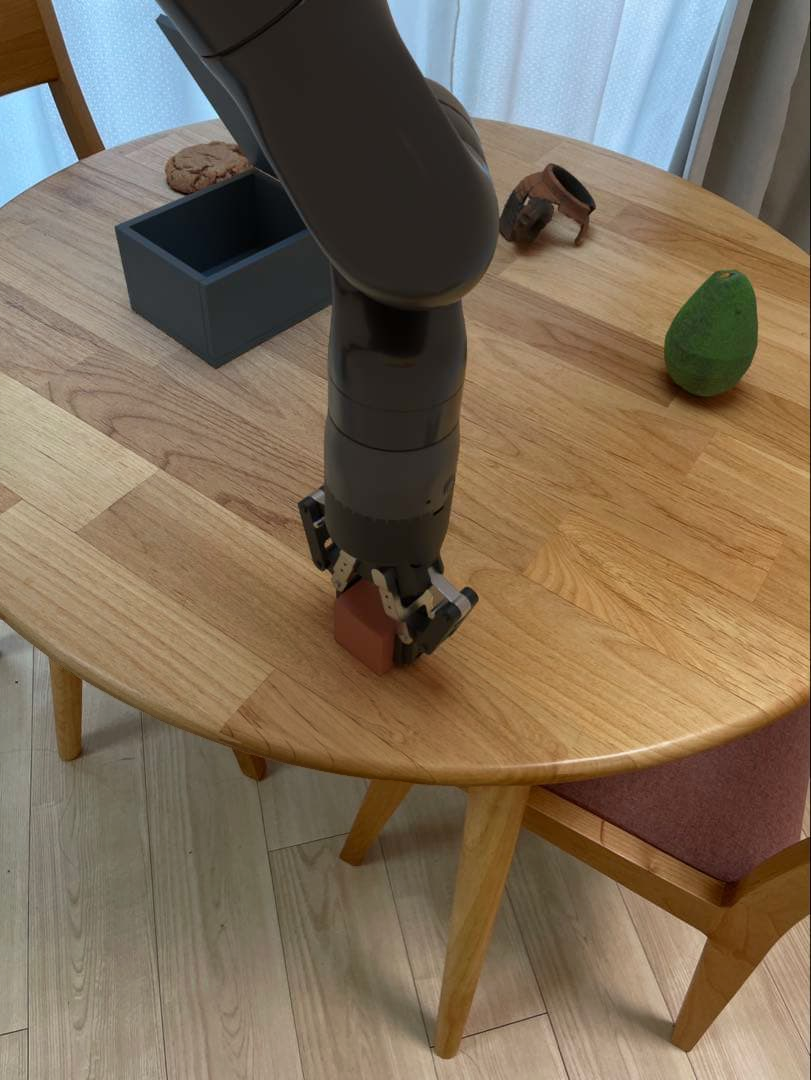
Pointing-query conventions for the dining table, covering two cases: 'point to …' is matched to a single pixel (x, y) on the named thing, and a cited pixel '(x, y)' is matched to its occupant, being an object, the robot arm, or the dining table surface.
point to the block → (365, 626)
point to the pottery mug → (545, 204)
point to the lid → (217, 98)
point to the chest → (224, 266)
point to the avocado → (713, 335)
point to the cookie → (205, 165)
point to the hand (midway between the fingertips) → (379, 635)
